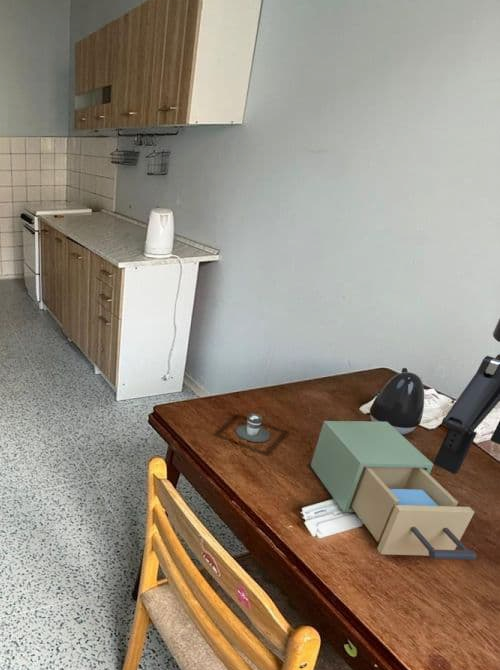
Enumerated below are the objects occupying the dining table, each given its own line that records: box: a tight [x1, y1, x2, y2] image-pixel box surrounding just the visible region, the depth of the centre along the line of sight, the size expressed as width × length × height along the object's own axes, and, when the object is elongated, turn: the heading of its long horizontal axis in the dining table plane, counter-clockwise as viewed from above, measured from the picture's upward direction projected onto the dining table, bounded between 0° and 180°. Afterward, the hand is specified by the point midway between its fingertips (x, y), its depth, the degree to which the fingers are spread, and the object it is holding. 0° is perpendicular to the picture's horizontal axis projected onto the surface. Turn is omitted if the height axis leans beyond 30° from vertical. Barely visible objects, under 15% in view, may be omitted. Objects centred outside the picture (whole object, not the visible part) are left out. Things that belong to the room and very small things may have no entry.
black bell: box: [369, 367, 425, 436], centre depth 112 cm, size 10×10×15 cm
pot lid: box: [235, 413, 271, 443], centre depth 113 cm, size 12×12×5 cm
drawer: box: [350, 467, 478, 561], centre depth 80 cm, size 20×11×10 cm, turn 177°
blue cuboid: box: [390, 489, 438, 506], centre depth 82 cm, size 7×5×6 cm
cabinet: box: [310, 420, 435, 513], centre depth 93 cm, size 15×13×12 cm
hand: (474, 456), depth 68 cm, fingers open, 13 cm apart
